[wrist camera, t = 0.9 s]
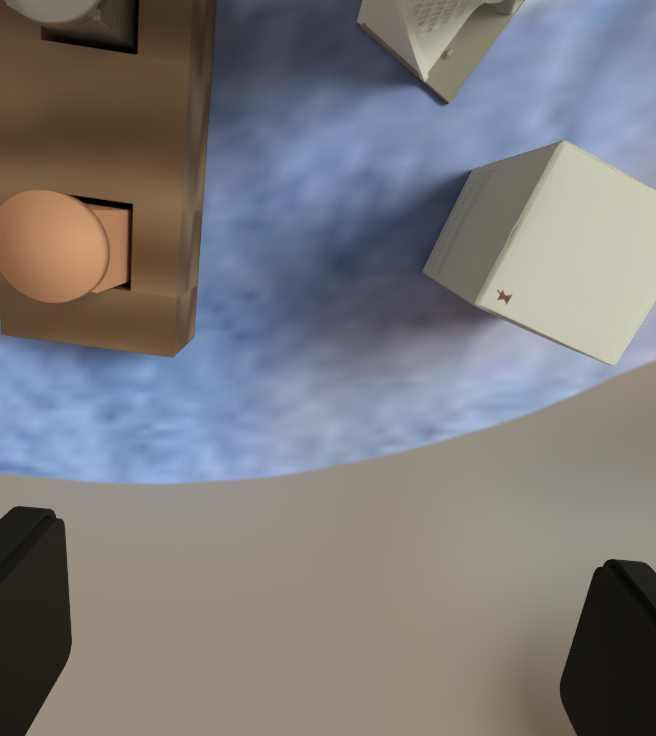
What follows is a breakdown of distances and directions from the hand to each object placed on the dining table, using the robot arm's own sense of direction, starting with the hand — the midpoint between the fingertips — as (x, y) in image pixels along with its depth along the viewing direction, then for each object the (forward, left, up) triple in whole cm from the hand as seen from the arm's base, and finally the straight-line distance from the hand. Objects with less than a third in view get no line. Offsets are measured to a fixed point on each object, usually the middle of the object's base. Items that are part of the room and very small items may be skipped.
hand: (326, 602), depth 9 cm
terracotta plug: (-3, -14, -24) cm, 28 cm away
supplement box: (-6, +10, -27) cm, 30 cm away
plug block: (-9, -14, -27) cm, 32 cm away
